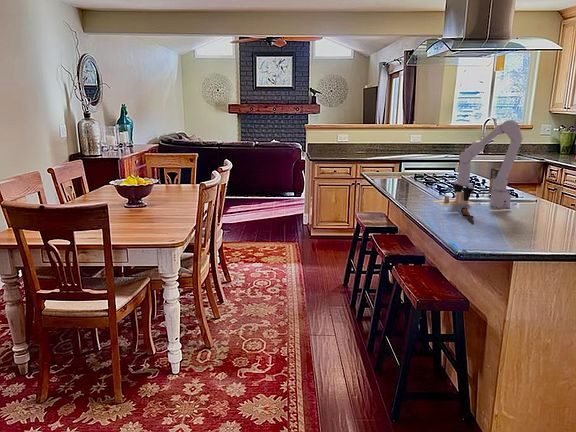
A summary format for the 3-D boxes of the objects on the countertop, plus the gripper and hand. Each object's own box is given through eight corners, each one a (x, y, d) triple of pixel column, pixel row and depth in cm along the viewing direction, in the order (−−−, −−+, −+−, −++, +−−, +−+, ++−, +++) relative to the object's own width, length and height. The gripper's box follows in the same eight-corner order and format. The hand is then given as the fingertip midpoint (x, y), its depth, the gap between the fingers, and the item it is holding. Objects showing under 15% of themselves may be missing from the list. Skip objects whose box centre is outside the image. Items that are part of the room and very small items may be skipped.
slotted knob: (464, 200, 244) (464, 191, 243) (468, 202, 240) (469, 193, 239) (454, 201, 243) (455, 192, 242) (459, 202, 239) (460, 193, 238)
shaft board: (478, 206, 235) (479, 197, 234) (443, 207, 231) (444, 199, 230) (461, 200, 250) (462, 192, 249) (428, 201, 246) (429, 193, 245)
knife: (481, 224, 195) (469, 221, 196) (478, 230, 196) (467, 227, 197) (470, 208, 219) (459, 205, 220) (468, 213, 220) (457, 211, 221)
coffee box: (487, 195, 265) (490, 168, 262) (498, 195, 265) (501, 168, 261) (494, 198, 256) (497, 170, 253) (505, 198, 256) (508, 170, 253)
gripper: (449, 172, 244) (448, 197, 247) (465, 176, 230) (462, 202, 233) (461, 172, 245) (459, 196, 249) (477, 176, 232) (475, 201, 235)
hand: (462, 199), depth 241 cm, fingers open, 7 cm apart
